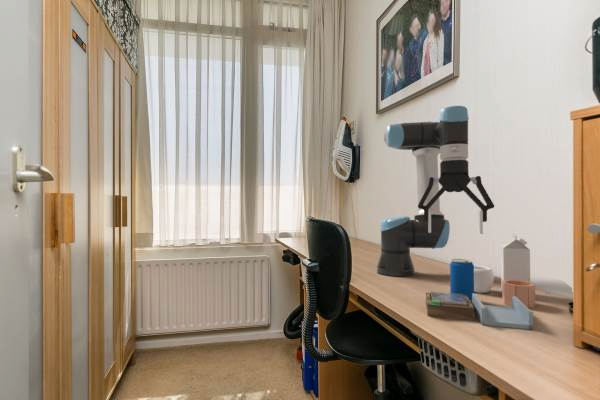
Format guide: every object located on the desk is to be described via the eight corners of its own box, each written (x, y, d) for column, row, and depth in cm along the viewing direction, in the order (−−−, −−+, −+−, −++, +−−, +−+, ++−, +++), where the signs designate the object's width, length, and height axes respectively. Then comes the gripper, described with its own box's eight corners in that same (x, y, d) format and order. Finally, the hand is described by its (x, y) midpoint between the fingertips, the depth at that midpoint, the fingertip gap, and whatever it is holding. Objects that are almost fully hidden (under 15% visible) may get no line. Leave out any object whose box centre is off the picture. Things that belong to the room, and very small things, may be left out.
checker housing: (425, 302, 100) (425, 289, 100) (466, 306, 97) (466, 292, 97) (427, 316, 89) (427, 301, 89) (474, 320, 85) (474, 305, 85)
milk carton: (503, 295, 107) (503, 235, 107) (501, 290, 113) (500, 233, 114) (530, 298, 104) (530, 236, 104) (526, 292, 110) (526, 234, 110)
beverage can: (477, 303, 99) (476, 262, 99) (453, 302, 100) (452, 262, 100) (470, 297, 105) (470, 258, 105) (448, 296, 106) (447, 258, 107)
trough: (472, 307, 95) (472, 293, 96) (515, 311, 92) (515, 296, 92) (481, 324, 82) (481, 308, 82) (532, 329, 79) (532, 312, 79)
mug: (490, 288, 116) (490, 265, 116) (496, 295, 108) (496, 270, 108) (451, 286, 119) (451, 264, 119) (455, 292, 111) (455, 268, 111)
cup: (500, 298, 104) (500, 279, 104) (529, 301, 101) (529, 280, 101) (506, 306, 96) (506, 285, 97) (538, 308, 94) (537, 286, 94)
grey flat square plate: (430, 295, 98) (430, 291, 98) (462, 297, 96) (462, 294, 96) (432, 303, 90) (432, 299, 90) (467, 306, 88) (467, 302, 88)
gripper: (408, 161, 100) (409, 232, 100) (505, 156, 92) (506, 235, 92) (409, 163, 107) (410, 230, 107) (499, 159, 99) (500, 232, 99)
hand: (454, 233), depth 100 cm, fingers open, 13 cm apart
